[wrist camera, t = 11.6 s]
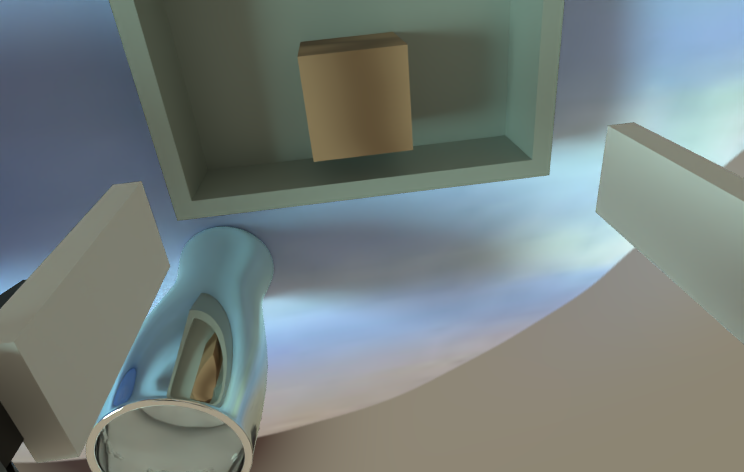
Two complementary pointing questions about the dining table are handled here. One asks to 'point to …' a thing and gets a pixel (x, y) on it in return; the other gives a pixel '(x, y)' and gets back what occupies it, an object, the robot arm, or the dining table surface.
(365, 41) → the walnut cube
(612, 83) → the dining table surface
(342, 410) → the dining table surface
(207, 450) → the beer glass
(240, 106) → the tote
